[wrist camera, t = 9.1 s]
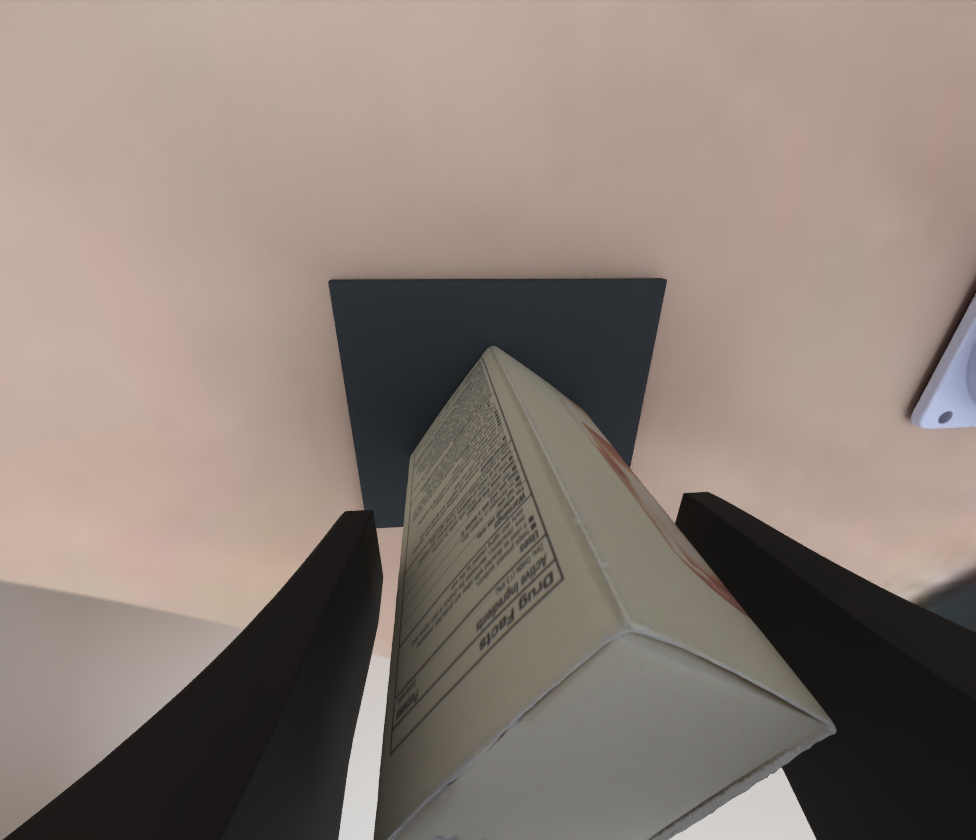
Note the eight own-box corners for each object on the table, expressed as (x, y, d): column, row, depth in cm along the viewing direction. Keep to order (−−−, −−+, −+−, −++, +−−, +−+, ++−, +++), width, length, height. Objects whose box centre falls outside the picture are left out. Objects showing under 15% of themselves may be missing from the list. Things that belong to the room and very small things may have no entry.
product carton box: (504, 509, 16) (587, 899, 7) (405, 455, 14) (344, 867, 5) (595, 407, 14) (865, 742, 5) (495, 334, 13) (629, 631, 4)
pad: (662, 278, 13) (667, 279, 12) (618, 509, 17) (621, 513, 16) (330, 279, 12) (328, 281, 11) (368, 523, 16) (367, 528, 15)
